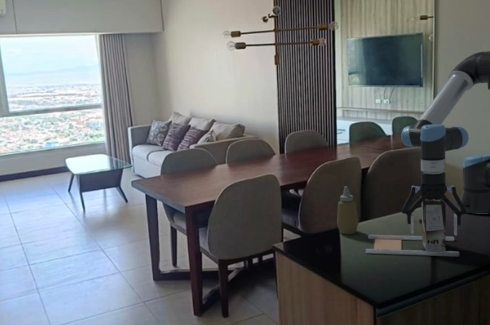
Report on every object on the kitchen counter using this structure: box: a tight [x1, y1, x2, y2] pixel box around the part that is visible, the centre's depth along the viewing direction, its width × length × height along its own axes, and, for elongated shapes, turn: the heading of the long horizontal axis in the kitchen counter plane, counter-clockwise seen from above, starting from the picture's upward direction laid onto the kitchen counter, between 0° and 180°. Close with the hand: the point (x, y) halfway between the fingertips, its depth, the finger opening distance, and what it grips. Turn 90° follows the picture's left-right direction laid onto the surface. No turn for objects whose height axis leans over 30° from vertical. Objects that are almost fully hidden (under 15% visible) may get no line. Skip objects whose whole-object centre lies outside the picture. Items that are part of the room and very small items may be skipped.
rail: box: [365, 234, 460, 257], centre depth 171 cm, size 29×16×1 cm, turn 73°
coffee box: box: [421, 199, 447, 251], centre depth 167 cm, size 9×6×16 cm
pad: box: [373, 239, 402, 250], centre depth 173 cm, size 9×11×1 cm
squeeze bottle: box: [336, 185, 359, 235], centre depth 189 cm, size 8×8×18 cm
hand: (433, 233), depth 168 cm, fingers open, 13 cm apart
